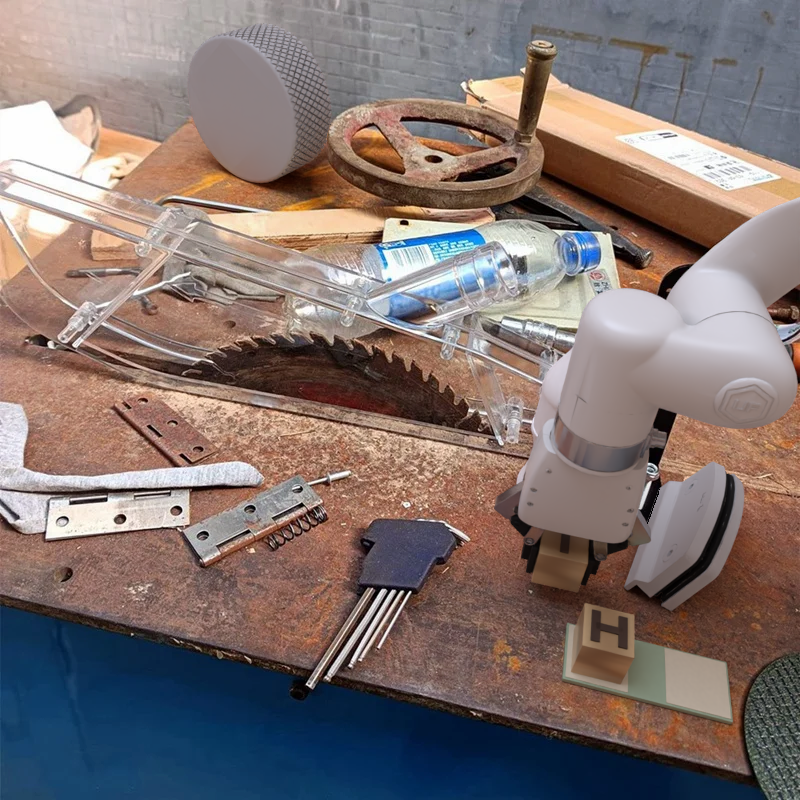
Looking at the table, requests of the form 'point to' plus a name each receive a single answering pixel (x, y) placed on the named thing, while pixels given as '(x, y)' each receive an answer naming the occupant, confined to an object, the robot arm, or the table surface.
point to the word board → (665, 680)
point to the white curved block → (689, 535)
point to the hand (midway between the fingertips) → (556, 566)
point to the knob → (259, 101)
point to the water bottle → (548, 399)
